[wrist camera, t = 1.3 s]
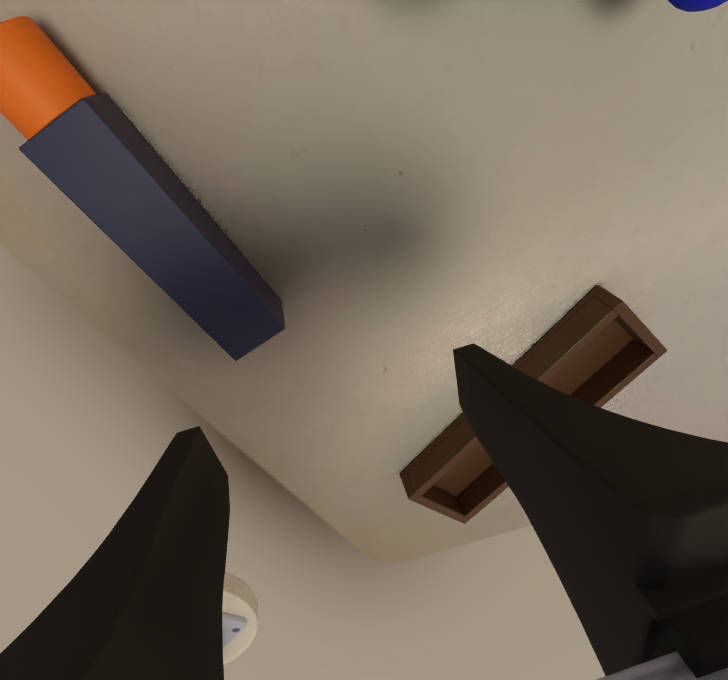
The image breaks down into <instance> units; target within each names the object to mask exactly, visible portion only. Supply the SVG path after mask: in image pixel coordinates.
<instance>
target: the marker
mask: <svg viewBox="0 0 728 680" xmlns="http://www.w3.org/2000/svg"><path fill="white" fill-rule="evenodd" d="M0 112H1V113H2V114H3V115H4V116H5V117H6V118H7V119H8V120H9V121H10V122H11V123H12V124H13V125H14V126H15V127H16V128H17V129H18V130H19V131H20V132H21V133H22V134H23V135H24V136H25V137H26V138H27V139H28V141H27V142H26V143H24V144H23V145H22V146H21V147H19V149H20V151H21V152H22V153H23V154H25V155H26V156H27V157H28V158H29V159H30V160H31V161H32V162H33V163H34V164H35V165H36V166H37V167H38V168H39V169H40V170H41V171H42V172H43V173H44V174H45V175H46V176H47V177H48V178H49V179H50V180H51V181H52V182H53V183H54V184H55V185H56V186H57V187H58V188H59V189H60V190H61V191H62V192H63V193H64V194H65V195H66V196H67V197H68V198H70V199H71V200H72V201H73V202H74V203H75V204H76V205H77V206H78V207H79V208H80V209H81V210H82V211H83V212H84V213H85V214H86V215H87V216H88V217H89V218H90V219H91V220H92V221H93V222H94V223H95V224H96V225H97V226H98V227H99V228H100V229H101V230H102V231H103V232H104V233H105V234H106V235H107V236H108V237H109V238H110V239H111V240H112V241H113V242H114V243H116V244H117V245H118V246H119V247H120V248H121V249H122V250H123V251H124V252H125V253H126V254H127V255H128V256H129V257H130V258H131V259H132V260H133V261H134V262H135V263H136V264H137V265H138V266H139V267H140V268H141V269H142V270H143V271H144V272H145V273H146V274H147V275H148V276H149V277H150V278H151V279H152V280H153V281H154V282H155V283H156V284H157V285H158V286H159V287H161V288H162V289H163V290H164V291H165V292H166V293H167V294H168V295H169V296H170V297H171V298H172V299H173V300H174V301H175V302H176V303H177V304H178V305H179V306H180V307H181V308H182V309H183V310H184V311H185V312H186V313H187V314H188V315H189V316H190V317H191V318H192V319H193V320H194V321H195V322H196V323H197V324H198V325H199V326H200V327H201V328H202V329H203V330H204V331H205V332H207V333H208V334H209V335H210V336H211V337H212V338H213V339H214V340H215V341H216V342H217V343H218V344H219V345H220V346H221V347H222V348H223V349H224V350H225V351H226V352H227V353H228V354H229V355H230V356H231V357H232V358H233V359H234V360H235V361H237V360H238V359H240V358H241V357H243V356H244V355H246V354H247V353H249V352H250V351H252V350H253V349H255V348H256V347H258V346H259V345H261V344H263V343H264V342H266V341H267V340H269V339H270V338H272V337H273V336H275V335H276V334H278V333H279V332H281V331H282V330H284V329H285V323H284V315H283V306H282V301H281V300H280V298H279V297H278V296H277V295H276V294H275V293H274V291H273V290H272V289H271V288H270V287H269V285H268V284H267V283H266V282H265V281H264V280H263V278H262V277H261V276H260V275H259V274H258V272H257V271H256V270H255V269H254V268H253V266H252V265H251V264H250V263H249V262H248V261H247V259H246V258H245V257H244V256H243V255H242V253H241V252H240V251H239V250H238V249H237V247H236V246H235V245H234V244H233V243H232V242H231V240H230V239H229V238H228V237H227V236H226V234H225V233H224V232H223V231H222V230H221V228H220V227H219V226H218V225H217V224H216V223H215V221H214V220H213V219H212V218H211V217H210V215H209V214H208V213H207V212H206V211H205V210H204V208H203V207H202V206H201V205H200V204H199V202H198V201H197V200H196V199H195V198H194V196H193V195H192V194H191V193H190V192H189V191H188V189H187V188H186V187H185V186H184V185H183V183H182V182H181V181H180V180H179V179H178V177H177V176H176V175H175V174H174V173H173V172H172V170H171V169H170V168H169V167H168V166H167V164H166V163H165V162H164V161H163V160H162V159H161V157H160V156H159V155H158V154H157V153H156V151H155V150H154V149H153V148H152V147H151V145H150V144H149V143H148V142H147V141H146V140H145V138H144V137H143V136H142V135H141V134H140V132H139V131H138V130H137V129H136V128H135V126H134V125H133V124H132V123H131V122H130V121H129V119H128V118H127V117H126V116H125V115H124V113H123V112H122V111H121V110H120V109H119V108H118V106H117V105H116V104H115V103H114V102H113V100H112V99H111V98H110V97H109V96H108V95H107V94H103V95H96V93H95V92H94V90H93V89H92V88H91V87H90V86H89V85H88V83H87V82H86V81H85V80H84V79H83V78H82V76H81V75H80V74H79V73H78V72H77V71H76V69H75V68H74V67H73V66H72V65H71V64H70V62H69V61H68V60H67V59H66V58H65V57H64V55H63V54H62V53H61V52H60V51H59V50H58V48H57V47H56V46H55V45H54V44H53V43H52V41H51V40H50V39H49V38H48V37H47V36H46V34H45V33H44V32H43V31H42V30H41V29H40V27H39V26H38V25H37V24H36V23H35V22H34V20H32V19H31V18H30V17H25V16H22V17H16V18H12V19H9V20H6V21H4V22H1V23H0Z"/></svg>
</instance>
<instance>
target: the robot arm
mask: <svg viewBox="0 0 728 680" xmlns="http://www.w3.org/2000/svg"><path fill="white" fill-rule="evenodd" d="M453 353H454V362H455V370H456V378H457V386H458V395H459V403H460V406H461V408H462V410H463V412H464V414H465V416H466V418H467V420H468V422H469V424H470V426H471V428H472V430H473V432H474V434H475V436H476V437H477V439H478V440H479V442H480V443H481V445H482V446H483V448H484V449H485V451H486V453H487V454H488V456H489V457H490V459H491V460H492V462H493V463H494V465H495V466H496V468H497V469H498V471H499V472H500V474H501V475H502V477H503V478H504V480H505V481H506V483H507V484H508V486H509V487H510V489H511V490H512V492H513V493H514V495H515V496H516V498H517V499H518V501H519V503H520V504H521V506H522V508H523V509H524V511H525V513H526V515H527V516H528V518H529V520H530V522H531V524H532V526H533V528H534V530H535V532H536V533H537V535H538V537H539V539H540V541H541V543H542V545H543V547H544V549H545V551H546V553H547V555H548V556H549V559H550V560H551V563H552V564H553V566H554V568H555V570H556V572H557V574H558V576H559V578H560V580H561V582H562V584H563V586H564V588H565V590H566V593H567V595H568V597H569V598H570V601H571V603H572V605H573V607H574V609H575V611H576V613H577V615H578V617H579V619H580V621H581V623H582V625H583V628H584V630H585V632H586V634H587V636H588V638H589V641H590V643H591V645H592V647H593V649H594V651H595V654H596V656H597V658H598V660H599V662H600V664H601V666H602V669H603V671H604V673H605V675H606V676H605V677H603V678H600V679H597V680H728V443H727V442H722V441H716V440H711V439H706V438H702V437H698V436H694V435H689V434H685V433H681V432H677V431H673V430H669V429H665V428H662V427H658V426H654V425H651V424H647V423H644V422H641V421H638V420H635V419H631V418H628V417H625V416H622V415H619V414H616V413H613V412H610V411H607V410H605V409H602V408H600V407H597V406H594V405H592V404H589V403H587V402H584V401H582V400H579V399H577V398H574V397H572V396H570V395H568V394H565V393H563V392H561V391H559V390H557V389H555V388H553V387H551V386H548V385H546V384H544V383H542V382H541V381H539V380H537V379H535V378H533V377H531V376H529V375H527V374H525V373H524V372H522V371H520V370H518V369H516V368H515V367H513V366H511V365H509V364H508V363H506V362H504V361H503V360H501V359H499V358H498V357H496V356H494V355H493V354H491V353H489V352H487V351H486V350H484V349H482V348H481V347H479V346H477V345H476V344H470V345H467V346H464V347H460V348H457V349H454V350H453ZM229 515H230V502H229V484H228V475H227V473H226V471H225V470H224V468H223V466H222V465H221V463H220V461H219V459H218V458H217V456H216V454H215V452H214V451H213V449H212V447H211V446H210V444H209V442H208V440H207V438H206V437H205V435H204V433H203V432H202V430H201V428H200V427H199V426H198V427H195V428H191V429H188V430H185V431H182V432H178V433H177V434H176V435H175V437H174V438H173V440H172V441H171V443H170V444H169V446H168V448H167V449H166V450H165V452H164V454H163V455H162V457H161V458H160V460H159V462H158V463H157V465H156V466H155V468H154V470H153V471H152V473H151V474H150V476H149V477H148V479H147V480H146V482H145V483H144V485H143V486H142V488H141V489H140V491H139V492H138V494H137V495H136V497H135V498H134V500H133V501H132V503H131V504H130V505H129V507H128V508H127V510H126V511H125V513H124V514H123V515H122V517H121V518H120V519H119V521H118V522H117V524H116V525H115V526H114V528H113V529H112V531H111V532H110V534H109V535H108V536H107V537H106V539H105V540H104V541H103V543H102V544H101V545H100V546H99V548H98V549H97V550H96V551H95V553H94V554H93V555H92V556H91V558H90V559H89V560H88V561H87V562H86V563H85V565H84V566H83V567H82V568H81V569H80V571H79V572H78V573H77V574H76V575H75V577H74V578H73V579H72V580H71V581H70V582H69V583H68V585H67V586H66V587H65V588H64V589H63V590H62V591H61V592H60V593H59V594H58V595H57V596H56V597H55V598H54V600H53V601H52V602H51V603H50V604H49V605H48V606H47V607H46V608H45V609H44V610H43V611H42V613H40V615H39V616H38V617H37V618H36V619H35V620H34V621H33V622H32V623H31V624H30V625H29V626H28V627H27V628H26V629H25V630H24V631H23V632H22V633H21V634H20V635H19V636H18V637H17V638H16V639H15V640H14V641H13V642H12V643H11V644H10V645H9V646H8V647H7V648H6V649H5V650H4V651H3V652H1V653H0V680H224V672H223V671H224V669H223V648H224V647H225V646H227V645H228V644H229V643H230V642H231V641H232V640H233V639H234V638H235V637H236V636H237V635H238V634H239V633H240V632H241V631H242V630H243V629H244V628H245V627H246V626H247V619H246V618H245V617H242V616H237V615H232V614H227V613H222V605H223V587H224V576H225V564H226V552H227V541H228V529H229Z"/></svg>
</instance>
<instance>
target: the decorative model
mask: <svg viewBox="0 0 728 680" xmlns="http://www.w3.org/2000/svg"><path fill="white" fill-rule="evenodd" d="M668 1H669V2H670V3H671V4H672V5H673V6H674V7H676V8H678V9H681V10H684V11H688V12H696V11H704V10H707V9H711V8H714V7H717V6H719V5H721V4H723V3H724V2H726V1H728V0H668Z"/></svg>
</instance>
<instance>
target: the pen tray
mask: <svg viewBox="0 0 728 680" xmlns="http://www.w3.org/2000/svg"><path fill="white" fill-rule="evenodd" d="M666 351H667V349H666V348H665V347H664V346H663V345H662V344H661V343H660V342H659V340H658V339H657V338H656V337H655V336H654V335H653V334H652V333H651V332H650V330H649V329H648V328H647V327H646V326H645V325H644V324H643V323H642V322H641V321H640V319H639V318H638V317H637V316H636V315H635V314H634V313H633V312H632V311H631V309H630V308H629V307H628V306H627V305H626V304H625V303H624V302H623V301H622V300H621V299H619V298H617V297H616V296H614V295H613V294H611V293H610V292H608V291H606V290H605V289H603V288H602V287H600V286H598V285H597V286H596V287H595V288H594V289H593V290H592V291H591V292H590V293H589V294H587V295H586V296H585V297H584V298H583V299H582V300H581V301H580V302H579V303H578V304H577V305H576V306H575V307H574V308H573V309H572V310H571V311H570V312H569V313H568V314H567V315H566V316H564V317H563V318H562V319H561V320H560V321H559V322H558V323H557V324H556V325H555V326H554V327H553V328H552V329H551V330H550V331H549V332H548V333H547V334H546V335H545V336H544V337H543V338H541V339H540V340H539V341H538V342H537V343H536V344H535V345H534V346H533V347H532V348H531V349H530V350H529V351H528V352H527V353H526V354H525V355H524V356H523V357H522V358H521V359H520V360H518V361H517V362H516V363H515V364H514V365H513V367H515V368H516V369H518V370H520V371H522V372H524V373H525V374H527V375H529V376H531V377H533V378H535V379H537V380H539V381H541V382H542V383H544V384H546V385H548V386H551V387H553V388H555V389H557V390H559V391H561V392H563V393H565V394H568V395H570V396H572V397H574V398H577V399H579V400H582V401H584V402H587V403H589V404H592V405H594V406H597V407H600V408H601V407H602V406H603V405H604V404H606V403H607V402H608V401H609V400H610V399H611V398H613V397H614V396H615V395H616V394H617V393H618V392H620V391H621V390H622V389H623V388H624V387H625V386H627V385H628V384H629V383H630V382H631V381H632V380H634V379H635V378H636V377H637V376H638V375H639V374H641V373H642V372H643V371H644V370H645V369H647V368H648V367H649V366H650V365H651V364H652V363H654V362H655V361H656V360H657V359H658V357H660V356H662V355H663V354H664V353H665V352H666ZM400 477H401V479H402V482H403V485H404V488H405V491H406V493H407V496H408V499H410V500H412V501H414V502H416V503H419V504H421V505H423V506H425V507H428V508H430V509H432V510H435V511H437V512H439V513H441V514H444V515H446V516H448V517H450V518H453V519H455V520H457V521H459V522H462V523H464V524H465V523H466V522H467V521H469V520H470V518H472V517H473V516H475V515H476V514H477V513H478V512H479V511H481V510H482V509H483V508H484V507H485V506H486V505H488V504H489V503H490V502H491V501H492V500H493V499H495V498H496V497H497V496H498V495H499V494H500V493H502V492H503V491H504V490H505V489H506V488H507V487H509V486H508V484H507V483H506V481H505V480H504V478H503V477H502V475H501V474H500V472H499V471H498V469H497V468H496V466H495V465H494V463H493V462H492V460H491V459H490V457H489V456H488V454H487V453H486V451H485V449H484V448H483V446H482V445H481V443H480V442H479V440H478V439H477V437H476V436H475V434H474V432H473V430H472V428H471V426H470V424H469V422H468V420H467V418H466V416H465V414H464V413H463V414H462V415H461V416H460V417H459V418H458V419H457V420H456V421H455V422H454V423H453V424H452V425H451V426H449V427H448V428H447V429H446V430H445V431H444V432H443V433H442V434H441V435H440V436H439V437H438V438H437V439H436V440H435V441H434V442H433V443H432V444H431V445H430V446H429V447H428V448H426V449H425V450H424V451H423V452H422V453H421V454H420V455H419V456H418V457H417V458H416V459H415V460H414V461H413V462H412V463H411V464H410V465H409V466H408V467H407V468H406V469H405V470H403V471H402V472H401V473H400Z"/></svg>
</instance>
